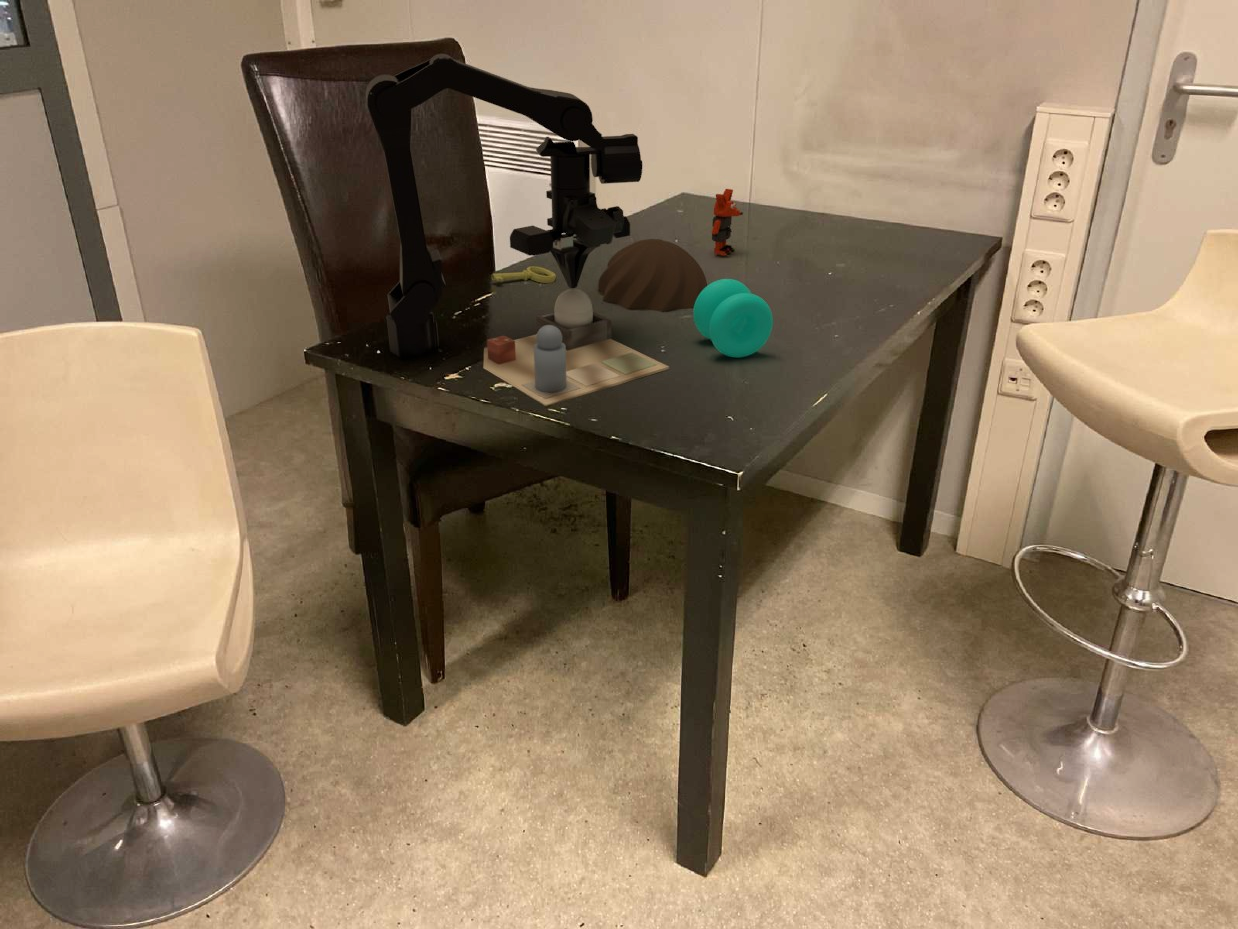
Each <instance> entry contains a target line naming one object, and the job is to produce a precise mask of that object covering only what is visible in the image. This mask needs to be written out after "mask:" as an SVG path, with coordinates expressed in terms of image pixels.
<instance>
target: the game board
mask: <svg viewBox="0 0 1238 929" xmlns="http://www.w3.org/2000/svg"><path fill="white" fill-rule="evenodd" d="M546 325H553V326H555V327H557V328H558V329H559V330H560V331H561V334H562V343H564V344H565V346H566V384H567V386H566V388H565V389H564V390H562V391H559V392H552V393H548V392H542V391H539V390H537V389H536V387H535V366H534V345H535V344H536V343H537V341H536V336H537V332H538V331H539V329H540V328H542V327H543V326H546ZM486 345H487V346H486V347H484V348H483V369H484V370H486V371H487V372H490V373H491V374H493V375H494V376H496V377H498V378H499V379H501V380H502V381H504V382H505V383H506V384H509V385H510V386H512V387H514V388H515V389H517V390H519V391H520V392H522V393H523V394H525V395H527V396H528V397H530V398H531V399H533V400H535V401H536V402H538V403H540V404H542V405H543V406H545V407H546V406H550V405H551V406H552V405H555V404H557V403H560V402H564V401H567V400H571V399H574V398H577V397H581V396H584V395H588V394H591V393H594V392H599V391H602V390H605V389H609V388H612V387H615V386H619V385H622V384H624V383H629V382H633V381H635V380H638V379H642V378H644V377H648V376H651V375H655V374H656V373H661V372H664V371H667V370H669V369H670V366H669V365H667V364H664V363H663V362H660V361H658V360H657V359H654V358H652V357H649V356H648V355H645V354H644V353H641V352H639V351H637V350H635V349H634V348H631V347H628V346H627V345H624V344H623V343H620V342H618V341H616V340H614V339H612V319H609V318H607V317H605V316H602V315H600V314H598V313H596V312H594V311H593V323H591V324H587V325H583V326H580V327H576V328H572V329H567V328H564V327H562V326H560V325H558V324H556V323H555V316H554V312H551V313H547V314H543V315H539V316H536V334H533V335H529V336H525V337H522V338H518V339H517V338H516V339H512V338H510V337H508V336H506V335H500V336H496V337H492V338H489V339H486Z"/></svg>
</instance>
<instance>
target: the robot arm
mask: <svg viewBox="0 0 1238 929" xmlns="http://www.w3.org/2000/svg"><path fill="white" fill-rule="evenodd" d="M446 89H450V90H452V91H455V92H459V93H461V94H463V95H466V96H469V97H471V98H475V99H477V100H481V101H484V102H486V103H488V104H492V105H493V106H497V107H500V108H503V109H506V110H509V111H511V112H514V113H516V114H520V115H522V116H524V117H527V118H528V119H530V120H531V121H532V122H535V123H536V124H538V125H539V126H541V127H543V128H544V129H546V130H548V131H549V132H551V133H553V134H555V135H557V136H559V137H560V138H562V139H563V140H566V141H555V142H554V141H553V139H552V138H551V137H550V136H546V137H545V139H544V140H543V142H542V143H540V145H538V146H537V147H536V148H535V151H536V153H537V154H538V155H539V156H540V157H543V158H544V157H545V158H546V157H547V158H548V157H550V158H549V159H550V188H551V189H550V190H546V192H545V193H546V199H548V200H551V217H550V218H549V217H548V218H547V219H546V223H547V224H546V225H547V226H549V227H551V228H552V229H546V230H545V229H543V228H540V227H538V226H535V225H528V226H523V227H518V228H513V230H512V231H511V232H510V235H509V247H510V248H511V249H513V250H515V251H518V252H520V253H522V254H525V255H527V256H538V255H539V256H540V255H544V254H549V253H551V255H552V257H553V259H554V260H555V261H556V263H557V266H558V268H559V270H560V272H561V274H562V276H563V278H564V280H565V282H566V285H567V286H568V288H570V289H577V287H578V284H579V282H580V278H581V275H582V273H583V270H584V266H585V264H586V262H587V259H588V257H589V255H590V254H591V252H593V251H594V250H595V249H596V248H600V247H601V245H609V244H612V243H613V238H615V239H619V238H620V239H621V238H626V237H630V236H631V222H630V221H629V218H628V217H627V216H625V215H624V210H623V209H622V208H621V207H620V206H618V205H615V206H611V207H608V208H606V207H605V208H599V207H598V204H597V197H596V193H594V192H591V174H590V173H592V176H593V178H598V180H599V182H600V183H601V185H602V184H603V185H605V184H622V183H639V182H640V181H641V178H642V174H643V160H642V159H641V158H642V157H641V150H640V146H639V142H638V141H639V138H638V135H636V134H634V133H625V134H622V135H611V136H610V135H609V136H608V135H606V136H603V134H602V133H601V132H600V131H598V129H597V128H596V126H595V125H594V124H593V113H592V111H591V108H590V106H589V105H588V104H587V103H586V102H585V101H584V100H582V99H581V98H579V97H577V96H576V95H574V94H572V93H570V92H564V91H558V90H553V89H544V88H536V87H532V86H531V87H530V86H527V85H524V84H522V83H518V82H517V81H516V82H515V81H513V80H511V79H508V78H505V77H502V76H500V75H498V74H494V73H492V72H489V71H486V70H483V69H480V68H478V67H475V66H473V65H471V64H467V63H466V62H462V61H460V60H457V59H455V58H453V57H451V56H450V55H448V54H447V53H438V54H437V53H436V54H435V55H434V56H432V57H431V58H430V59H428V60H425V61H424V62H421V63H420V64H416V65H415V66H412V67H409V68H406V69H405V70H403V71H401V72H399V73H397V74H395V75H391V74H380V75H377V76H375V77H374V78H373V79H371V80H370V82H369V83H368V84H367V87H366V90H365V100H366V104H367V109H368V112H369V115H370V116H371V120H372V123H373V125H374V127H375V130H376V133H377V136H378V138H379V141H380V144H381V147H382V150H383V152H384V154H383V155H384V158H385V165H386V170H387V175H388V181H389V182H388V183H389V187H390V193H391V197H392V202H393V209H394V214H395V220H396V225H397V231H398V237H399V239H400V240H399V241H400V242H399V244H400V248H399V249H400V250H399V281H398V282H397V283H396V285H394V287H393V288H392V289H390V291H389V292H388V293H387V301H388V307H389V313H390V314H389V315H386V325H387V333H388V341H389V351H390V353H393V355H395V356H397V357H398V358H399V359H400V360H401V361H403V362H404V361H410V360H414V359H419V358H423V357H426V356H431V355H435V354H440V353H442V350H441V349H440V348H439V344H440V343H439V332H438V323H437V321H436V319H434V317H435V316H434V313H433V312H432V309H433V308H434V307H435V306H437V305H438V303H439V302H440V301H441V300H442V296H443V289H442V288H446V287H447V284H446V282H445V279H444V276H443V273H442V272H443V265H442V264H443V261H442V258H441V255H440V252H439V250H438V249H437V248H436V249H432V250H429V248H428V244H427V241H426V236H425V235H426V234H425V229H424V228H425V227H424V224H423V218H422V217H423V216H422V212H421V205H420V200H419V199H420V198H419V194H418V187H417V181H416V175H415V169H414V165H413V159H412V153H411V151H412V150H411V138H412V137H411V136H412V134H411V133H412V109H414V108H416V107H418V106H420V105H422V104H423V103H425V102H426V101H428V100H429V99H431V98H433V97H434V96H435V95H437V94H439V93H440V92H442V91H444V90H446ZM576 141H580V142H582V143H584V144H585V145H587V146H584V147H583V146H576V144H575V142H576ZM590 155H591V156H590ZM590 157H591V158H590ZM590 161H591V162H590ZM590 170H591V171H590Z"/></svg>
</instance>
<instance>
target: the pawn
mask: <svg viewBox="0 0 1238 929" xmlns="http://www.w3.org/2000/svg"><path fill="white" fill-rule="evenodd" d="M536 334H537V336H536V341H537V343H536V344H535V345H534V366H535V387H536V389H537V390H539V391H542V392H548V393H552V392H559V391H562V390H564V389H565V388H566V386H567V384H566V346H565V344H564V343H562V334H561V331H560V330H559V329H558V328H557V327H555V326H553V325H546V326H543V327H542V328H540V329H539V331H538V332H537V331H536Z"/></svg>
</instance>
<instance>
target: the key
mask: <svg viewBox="0 0 1238 929" xmlns="http://www.w3.org/2000/svg"><path fill="white" fill-rule="evenodd" d="M556 278H557V276H556V273H554V272H553V271H551V270H549V269H547V268H544V267H541V266H528V267H527V268H526V269H523V270H522V271H520V272H504V273H502V272H501V273H499V272H498V273H492V274H491V280H492V281H497V282H504V281H508V280H511V281H512V280H523V281H524V282H525V281H528V279H530V280H532V281H534V282H538V283H542V284H543V283H544V284H549V283H554V282H555V281H556Z"/></svg>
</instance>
